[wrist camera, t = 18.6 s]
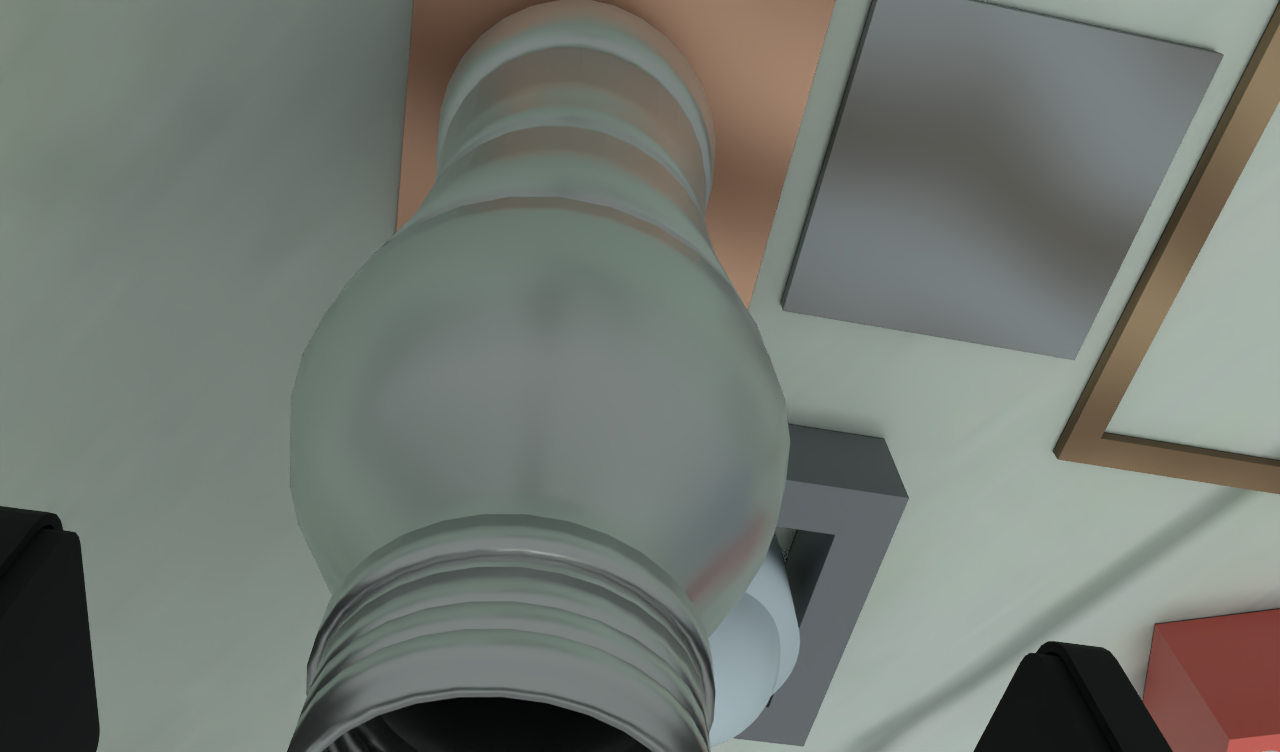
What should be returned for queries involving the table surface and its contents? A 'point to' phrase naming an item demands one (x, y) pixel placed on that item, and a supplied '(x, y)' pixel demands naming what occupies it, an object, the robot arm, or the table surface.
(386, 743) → the plastic bottle
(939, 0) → the game track
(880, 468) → the grey hollow frame
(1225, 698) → the red die
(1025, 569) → the table surface
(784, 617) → the dome
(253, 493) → the table surface
